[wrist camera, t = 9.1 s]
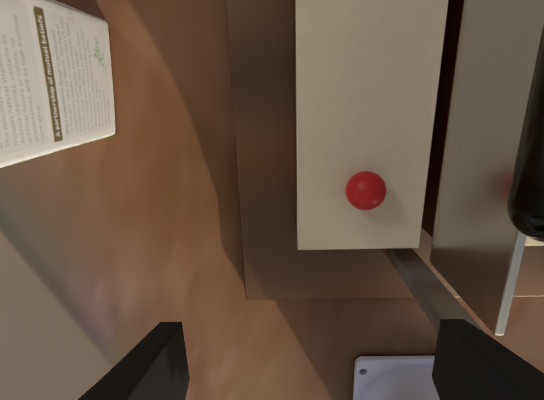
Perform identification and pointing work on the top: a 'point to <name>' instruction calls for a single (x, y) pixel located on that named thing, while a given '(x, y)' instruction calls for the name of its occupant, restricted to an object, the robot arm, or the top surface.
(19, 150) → the syrup box
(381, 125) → the cake
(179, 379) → the robot arm
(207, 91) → the top surface
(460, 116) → the cleaver knife
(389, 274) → the cutting board
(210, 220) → the top surface
